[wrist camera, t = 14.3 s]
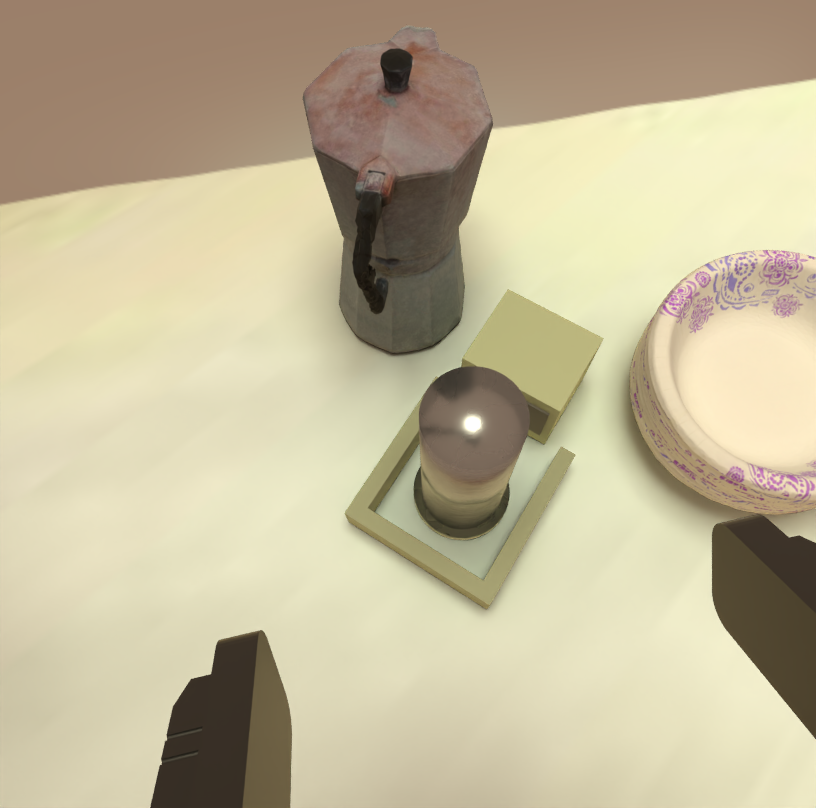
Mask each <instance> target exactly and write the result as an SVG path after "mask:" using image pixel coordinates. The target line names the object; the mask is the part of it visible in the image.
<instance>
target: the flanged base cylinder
mask: <svg viewBox="0 0 816 808" xmlns="http://www.w3.org/2000/svg"><path fill="white" fill-rule="evenodd" d="M529 425H530V415H529V409H528V404H527V402H526V399H525V397H524V395H523V394H522V392H521V391H520V389H519V388H518V387H517V385H516V384H515V383H514V382H513V381H511V380H510V379H509V378H508V377H506V376H505V375H503V374H502V373H499V372H497V371H495V370H492V369H489V368H485V367H478V366H467V367H461V368H457V369H453V370H451V371H449V372H447V373H445V374H443V375H441V376H440V377H439V378H437V379H436V380H435V381H434V382H433V383H432V384H431V385H430V386H429V388H428V389H427V391H426V392H425V394H424V396H423V398H422V401H421V404H420V408H419V437H420V460H421V467H420V468H419V470H418V472H417V475H416V478H415V482H414V499H415V504H416V508H417V510H418V513H419V515H420V516H421V518H422V520H423V521H424V522H425V523H426V525H427V526H428V527H430V528H431V529H432V530H433V531H435V532H436V533H438V534H440V535H441V536H444V537H447V538H450V539H454V540H469V539H474V538H478V537H480V536H482V535H485V534H486V533H488V532H489V531H491V530H492V529H493V528H494V527H495V526H496V525H497V524H498V523H499V521H500V520H501V518H502V517H503V515H504V513H505V511H506V508H507V505H508V501H509V483H508V482H509V479H510V477H511V474H512V472H513V469H514V467H515V464H516V462H517V459H518V457H519V454H520V452H521V449H522V447H523V445H524V442H525V440H526V437H527V434H528V430H529Z"/></svg>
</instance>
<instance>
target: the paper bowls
mask: <svg viewBox="0 0 816 808" xmlns="http://www.w3.org/2000/svg"><path fill="white" fill-rule="evenodd" d="M629 383H630V386H629V388H630V398H631V405H632V409H633V412H634V415H635V420H636V422H637V425H638V427H639V430H640V432H641V434H642V436H643V438H644V440H645V441H646V443H647V444H648V446H649V448H650V450H651V451H652V453H653V454H654V456H655V458H656V459H657V460H658V461H659V462H660V463H661V464H662V465H663V466H664V467H665V468H666V469H667V470H668V471H669V472H670V473H671V474H672V475H673V476H674V477H675V478H676V479H678V480H679V481H681V482H682V483H684V484H685V485H687V486H689V487H690V488H692V489H693V490H695V491H697V492H698V493H700V494H701V495H703V496H705V497H706V498H708V499H711V500H713V501H716V502H718V503H721V504H723V505H728V506H730V507H732V508H734V509H738V510H743V511H746V512H754V513H759V514H787V513H797V512H803V511H806V510H809V509H813V508H816V258H815V257H812V256H808V255H804V254H800V253H795V252H787V251H778V250H777V251H776V250H762V251H748V252H742V253H737V254H733V255H729V256H726V257H722V258H719V259H717V260H714V261H712V262H709V263H707V264H706V265H703V266H701V267H700V268H698V269H696V270H695V271H693V272H692V273H690V274H689V275H688V276H686V277H685V278H684V279H682V280H681V281H680V282H679V283H678V284H677V285H676V286H675V287H674V288H673V289H672V290H671V291H670V293H669V294H668V295H667V297H666V298H665V299H664V300H663V302H662V304H661V305H660V306H659V308H658V310H657V312H656V313H655V315H654V317H653V318H652V320H651V321H650V323H649V324H648V326H647V328H646V329H645V331H644V333H643V335H642V337H641V339H640V340H639V342H638V345H637V347H636V350H635V353H634V356H633V359H632V365H631V369H630V380H629Z"/></svg>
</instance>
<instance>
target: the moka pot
mask: <svg viewBox="0 0 816 808" xmlns="http://www.w3.org/2000/svg"><path fill="white" fill-rule="evenodd" d="M303 101H304V106H305V111H306V116H307V120H308V125H309V129H310V134H311V138H312V144H313V149H314V152H315V155H316V158H317V161H318V164H319V167H320V170H321V173H322V176H323V179H324V182H325V185H326V188H327V191H328V194H329V197H330V200H331V203H332V206H333V209H334V212H335V215H336V218H337V221H338V224H339V227H340V230H341V233H342V236H343V237H344V242H343V255H342V271H341V284H340V300H339V305H340V308H341V310H342V313H343V315H344V317H345V319H346V321H347V322H348V324H349V326H350V327H351V328H352V330H353V331H354V333H355V334H356V335H357V336H358V337H359V338H361V339H362V340H364V341H366V342H367V343H370V344H372V345H374V346H376V347H378V348H381V349H384V350H386V351H388V352H390V353H401V352H408V351H415V350H420V349H423V348H426V347H429V346H431V345H434V344H436V343H437V342H439V341H440V340H441V339H442V338H443V337H445V336H446V335H447V334H448V333H449V332H450V331H451V330H452V329H453V328H454V327H455V326H456V325H457V324H458V323H459V322H460V319H461V315H462V310H463V298H464V288H465V285H464V276H463V264H462V258H461V246H460V240H459V225H460V224H461V223H462V221H463V220H464V218H465V217H466V215H467V213H468V210H469V206H470V202H471V199H472V195H473V191H474V188H475V185H476V181H477V177H478V174H479V170H480V167H481V163H482V160H483V156H484V153H485V150H486V147H487V143H488V139H489V136H490V133H491V129H492V126H493V121H492V116H491V113H490V110H489V108H488V104H487V102H486V99H485V96H484V92H483V89H482V86H481V83H480V80H479V76H478V72H477V70H476V68H475V67H474V66H473V65H471V64H469V63H467V62H465V61H462V60H460V59H459V58H457V57H455V56H452V55H450V54H448V53H446V52H444V51H442V50H440V48H439V45H438V42H437V37H436V34H435V32H434V31H433V30H432V29H430V28H417V27H414V26H405V27H404V28H401V29H400V30H399V31H398V32H397V33H396V34H395V35H394V36H393V38H392V39H390V40H389V41H388V42H386V43H380V44H374V45H366V46H360V47H352V48H347V49H346V50H345V51H343V52H342V53H341V54H340V55H339V56H338V57H337V58H336V59H335V60H334V61H333V62H332V63H331V64H330V65H329V66H328V67H327V68H326V69H325V70H324V71H323V72H322V73H321V74H320V75H319V76H318V77H317V78H316V79H315V80H314V81H313V82H312V83H311V84H310V85H309V86H308V87H307V88H306V90H305V92H304V95H303Z"/></svg>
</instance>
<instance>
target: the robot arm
mask: <svg viewBox="0 0 816 808" xmlns="http://www.w3.org/2000/svg"><path fill="white" fill-rule="evenodd" d="M712 596H713V601H714V605H715V609H716V611H717V614H718V616H719V618H720V620H721V622H722V624H723V626H724V627H725V629H726V630H727V631H728V632H729V634H730V635H731V636H732V637H733V639H734V640H735V641H736V642H737V643H738V645H739V646H740V647H741V648H742V650H743V651H744V652H745V653H746V654H747V656H748V657H749V658H750V659H751V661H752V662H753V663H754V664H755V665H756V667H757V668H758V669H759V670H760V672H761V673H762V674H763V675H764V676H765V678H766V679H767V680H768V681H769V683H770V684H771V685H772V686H773V687H774V689H775V690H776V691H777V692H778V694H779V695H780V696H781V697H782V698H783V700H784V701H785V702H786V703H787V705H788V706H789V707H790V708H791V709H792V711H793V712H794V713H795V714H796V716H797V717H798V718H799V719H800V720H801V722H802V723H803V724H804V725H805V727H806V728H807V729H808V730H809V731H810V733H811V734H812V735H813V736H814V738H815V739H816V543H814V542H812V541H810V540H808V539H805V538H803V537H801V536H795V537H791V538H789V537H787V536H786V535H785V534H784V533H783V532H782V531H781V530H779V529H778V528H777V527H776V526H775V525H774V524H773V523H771V522H770V521H769V520H768V519H767V518H765V517H764V516H762V515H752V516H748V517H744V518H740V519H736V520H731V521H727V522H723V523H719V524H716V525H715V526H714V528H713V532H712ZM291 749H292V726H291V716H290V710H289V705H288V700H287V696H286V693H285V690H284V687H283V684H282V681H281V678H280V675H279V672H278V669H277V666H276V663H275V660H274V657H273V654H272V651H271V649H270V646H269V643H268V640H267V637H266V635H265V633H264V632H263V631H262V630H260V631H256V632H251V633H247V634H243V635H239V636H234V637H230V638H226V639H222V640H219V641H218V642H217V645H216V650H215V655H214V661H213V667H212V673H211V674H210V675H206V676H202V677H198V678H194V679H191V680H190V682H189V683H188V685H187V686H186V688H185V689H184V691H183V692H182V694H181V695H180V697H179V698H178V700H177V701H176V703H175V704H174V706H173V709H172V714H171V718H170V722H169V727H168V731H167V741H165V745H164V749H163V754H162V758H161V760H162V765H160V767H159V771H158V776H157V780H156V785H155V789H154V794H153V798H152V802H151V807H150V808H290V792H291Z"/></svg>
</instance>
